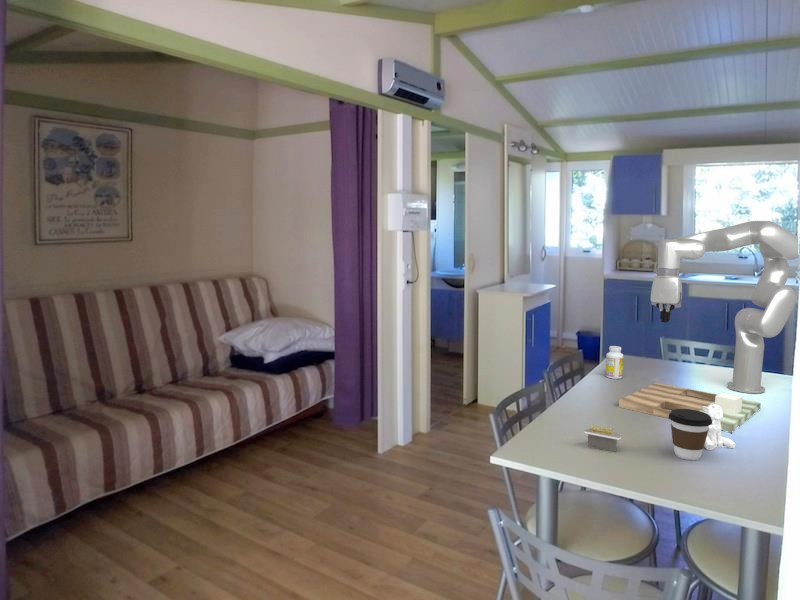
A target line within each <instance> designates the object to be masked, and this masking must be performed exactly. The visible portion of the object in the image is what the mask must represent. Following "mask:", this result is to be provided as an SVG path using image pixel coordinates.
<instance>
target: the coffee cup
mask: <svg viewBox="0 0 800 600" xmlns="http://www.w3.org/2000/svg"><path fill="white" fill-rule="evenodd" d="M668 419H670V421H671V422H670V423H671V424H670V429H671V441H672V444H673V452H674V453H675V456H676V457H677V458H680V459H683V460H687V461H698V460H699V459H700V458H701V456H702V453H703V449H704V448H705V447H704V445H705V441H706V437H707V434H708V430H709V429H708V427H709V425H712V419H711V417H710V416H709V415H708V414H706V413H704V412H701V411H697V410H691V409H675V410H672V411H671V413H670V414H669V418H668Z"/></svg>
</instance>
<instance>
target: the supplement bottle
mask: <svg viewBox="0 0 800 600" xmlns="http://www.w3.org/2000/svg"><path fill="white" fill-rule="evenodd" d="M608 349H609V351H608V352H607V353H606V357H605V358H606V359H605V377H606V378H607V377H608V379H610V378H612V379H613V380H621V379H622V378H623V374H624V354H623V353H622V347H621V346H617V345H610V346H609V348H608Z"/></svg>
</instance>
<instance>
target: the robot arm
mask: <svg viewBox="0 0 800 600" xmlns="http://www.w3.org/2000/svg"><path fill="white" fill-rule="evenodd" d="M757 244H759V246H758V247H759V249H758V250H759V252H760V254H761V257H762V258H763V263H764V267H763V271H762V273H761V274H760V277H759V279H758V281H757V283H756V284H755V287H754V289H753V291H752V293H751V295H750V296H751V297H750V299H751V302H752V303H753V304H754V305H756V306H758V307H760V308H765V309H764V310H763V309H758V308H755V307H744V308H742V309H741V310H738V312H737V313H736V315H735V316H734V328H735V349H734V358H733V359H734V360H733V372H732V382H728V383H727V388H728V389H730V390H732V391H734V392H735V391H736V392H739V393H745V394H762V393H761V392H763V393H765V392H766V388H765V387H764V386H762V374H763V363H764V352H765V342H764V341H765V340H764V338H767V339H769V338H774V337H777V335H779V334H781V332H782V330H783V329H784V327H785V326H786V323H787V321H788V319H789V317H790V316H791V314H792V312H793V309H794V308H795V306H796V302H797V295H796V292H795V290H794V289H793V288H792V287H790V286H789V285H786V283H787V281H788V278H789V275H790V271H791V270H790V265H789V261H788V260H791V261H792V260H796V259H799V258H800V257H799V255H798V236H797V235H796V234H794V233H793V232H791V231H789V230H788V229H786V228H785V227H783V226H781V225H780V224H778V223H776V222H774V221H771V220H750V221H746V222H742V223H737V224H734V225H731V226H727V227H723V228H718V229H712V230H709V231H703V232H698V233H694V234H689V235H685V236H681V237H678V238H676V239H670V238H665V239H661V240H659V243H658V254H657V255H658V257H657V267H656V268H654V269H653V273H656V275H654V277H653V279H652V284H651V289H650V290H651V291H650V304H651V305H652V306H655V307H657V309H658V310H659V312H660V315H659V318H660V321H661V323H668V322H669V321H670V320H671V312H672V311H673V310H674V309H678V308H681V307H682V301H683V282H682V278H681V276H680V271H681V270H680V268H681V259H683V260H691V261H693V260H698V259H701V258H703V257H704V255H705V253H706V252H707V253H709V252H714V253H715V252H717V253H718V252H728V251H731V250H735V249H739V248H743V247H746V246H751V245H757ZM764 391H765V392H764Z"/></svg>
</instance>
